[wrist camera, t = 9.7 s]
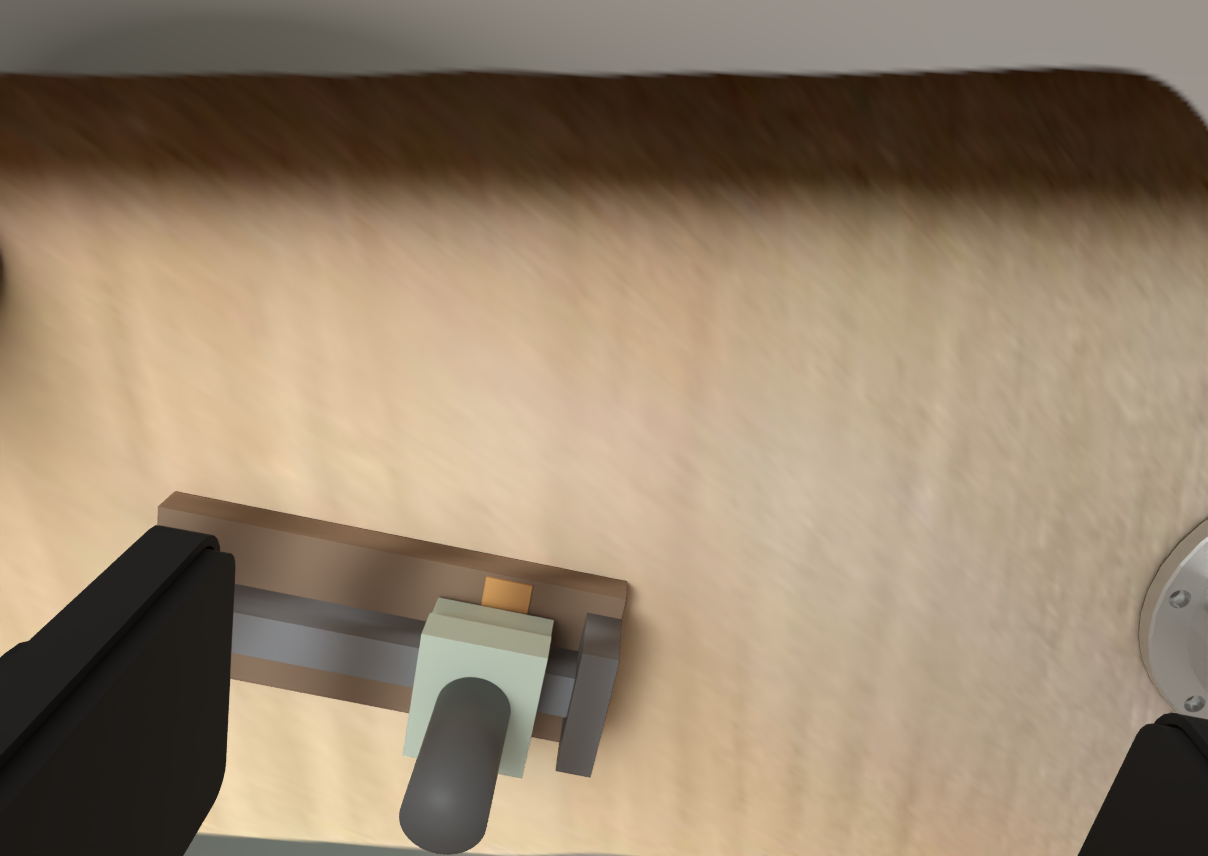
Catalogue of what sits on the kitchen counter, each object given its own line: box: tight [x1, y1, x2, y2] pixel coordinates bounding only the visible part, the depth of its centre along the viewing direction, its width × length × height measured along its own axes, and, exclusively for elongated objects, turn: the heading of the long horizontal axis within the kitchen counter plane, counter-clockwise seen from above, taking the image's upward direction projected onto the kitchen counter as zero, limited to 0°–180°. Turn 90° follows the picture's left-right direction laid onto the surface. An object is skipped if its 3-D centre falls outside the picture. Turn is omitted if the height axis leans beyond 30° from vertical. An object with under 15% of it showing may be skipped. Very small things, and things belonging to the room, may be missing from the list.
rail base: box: [157, 492, 627, 777], centre depth 40 cm, size 20×8×4 cm, turn 79°
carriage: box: [399, 597, 554, 854], centre depth 36 cm, size 5×6×10 cm
